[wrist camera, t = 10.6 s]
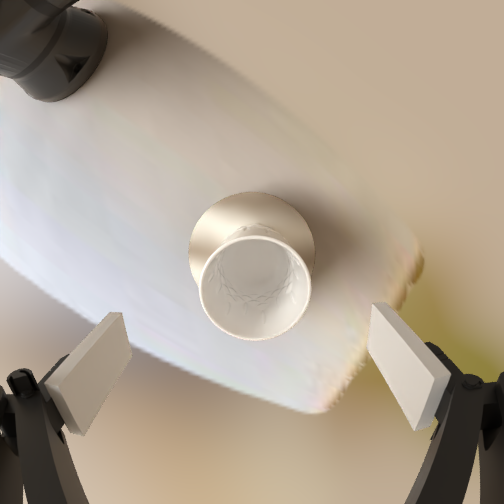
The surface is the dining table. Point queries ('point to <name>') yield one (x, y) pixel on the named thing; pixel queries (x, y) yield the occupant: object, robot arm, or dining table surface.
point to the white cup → (255, 284)
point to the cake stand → (245, 213)
